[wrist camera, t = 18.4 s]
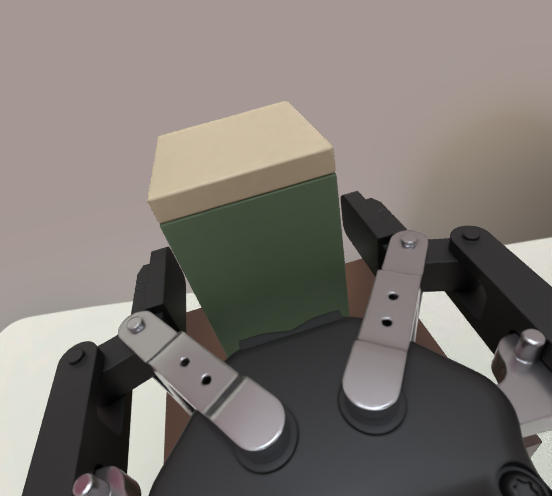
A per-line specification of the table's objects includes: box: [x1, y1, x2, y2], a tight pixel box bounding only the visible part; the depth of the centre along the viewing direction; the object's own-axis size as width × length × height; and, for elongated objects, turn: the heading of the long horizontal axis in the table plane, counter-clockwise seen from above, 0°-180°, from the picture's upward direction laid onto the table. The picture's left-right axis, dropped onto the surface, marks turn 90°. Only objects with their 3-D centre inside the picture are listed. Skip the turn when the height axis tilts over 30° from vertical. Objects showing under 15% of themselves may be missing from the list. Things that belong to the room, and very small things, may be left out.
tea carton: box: [147, 101, 350, 358], centre depth 15 cm, size 5×5×13 cm
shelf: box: [164, 258, 542, 463], centre depth 21 cm, size 15×14×14 cm
